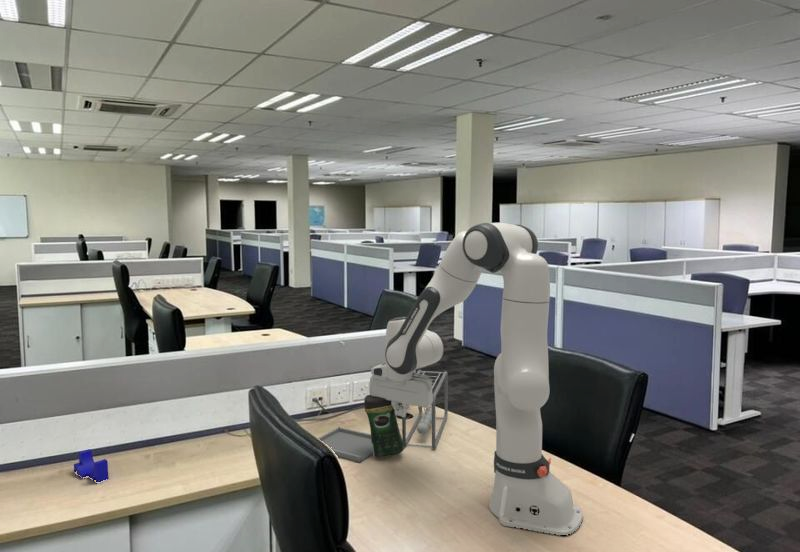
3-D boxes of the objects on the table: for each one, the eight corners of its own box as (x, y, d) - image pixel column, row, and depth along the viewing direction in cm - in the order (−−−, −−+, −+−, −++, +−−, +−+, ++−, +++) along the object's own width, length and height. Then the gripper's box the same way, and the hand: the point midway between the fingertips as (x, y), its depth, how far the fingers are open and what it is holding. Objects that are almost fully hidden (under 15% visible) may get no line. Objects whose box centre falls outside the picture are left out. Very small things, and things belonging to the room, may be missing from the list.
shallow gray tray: (389, 443, 183) (389, 438, 183) (360, 463, 169) (359, 457, 169) (338, 431, 193) (338, 426, 193) (307, 449, 179) (307, 443, 179)
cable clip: (74, 474, 164) (72, 454, 163) (90, 468, 167) (89, 449, 167) (91, 486, 156) (90, 465, 156) (108, 481, 160) (107, 460, 159)
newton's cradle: (419, 415, 209) (419, 368, 207) (447, 417, 206) (447, 369, 204) (402, 448, 180) (401, 394, 178) (435, 451, 177) (435, 396, 175)
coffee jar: (404, 446, 178) (394, 387, 178) (404, 454, 170) (393, 392, 170) (373, 452, 178) (363, 393, 178) (372, 460, 170) (361, 398, 170)
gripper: (436, 373, 166) (436, 419, 168) (377, 363, 177) (377, 406, 178) (426, 378, 161) (426, 426, 162) (366, 368, 171) (366, 413, 173)
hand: (400, 416), depth 170 cm, fingers closed
